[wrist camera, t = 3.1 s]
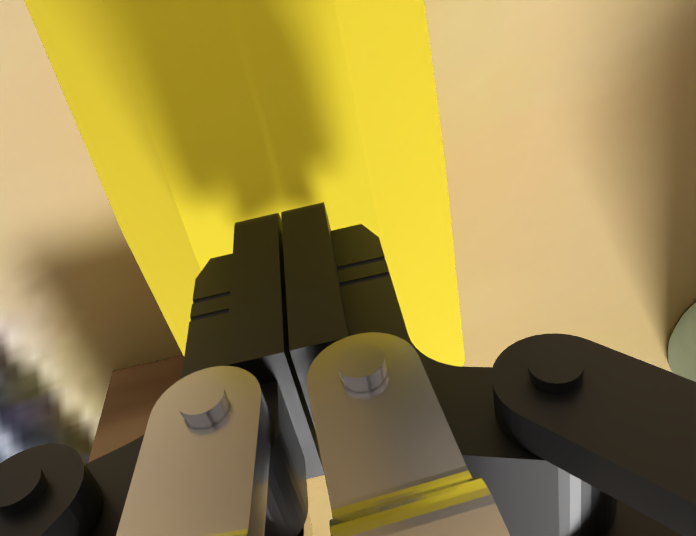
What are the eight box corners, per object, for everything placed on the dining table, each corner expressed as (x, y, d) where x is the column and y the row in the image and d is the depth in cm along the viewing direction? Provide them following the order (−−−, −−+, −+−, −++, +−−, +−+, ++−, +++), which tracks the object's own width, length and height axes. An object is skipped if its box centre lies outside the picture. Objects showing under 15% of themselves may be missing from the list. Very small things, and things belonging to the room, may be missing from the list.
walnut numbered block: (113, 369, 21) (76, 504, 17) (261, 335, 21) (262, 462, 17) (166, 466, 24) (146, 603, 20) (298, 436, 24) (306, 567, 20)
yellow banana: (358, -398, 12) (-43, -302, 12) (439, -590, 7) (-291, -412, 7) (452, 330, 22) (232, 378, 22) (516, 494, 17) (223, 558, 17)
